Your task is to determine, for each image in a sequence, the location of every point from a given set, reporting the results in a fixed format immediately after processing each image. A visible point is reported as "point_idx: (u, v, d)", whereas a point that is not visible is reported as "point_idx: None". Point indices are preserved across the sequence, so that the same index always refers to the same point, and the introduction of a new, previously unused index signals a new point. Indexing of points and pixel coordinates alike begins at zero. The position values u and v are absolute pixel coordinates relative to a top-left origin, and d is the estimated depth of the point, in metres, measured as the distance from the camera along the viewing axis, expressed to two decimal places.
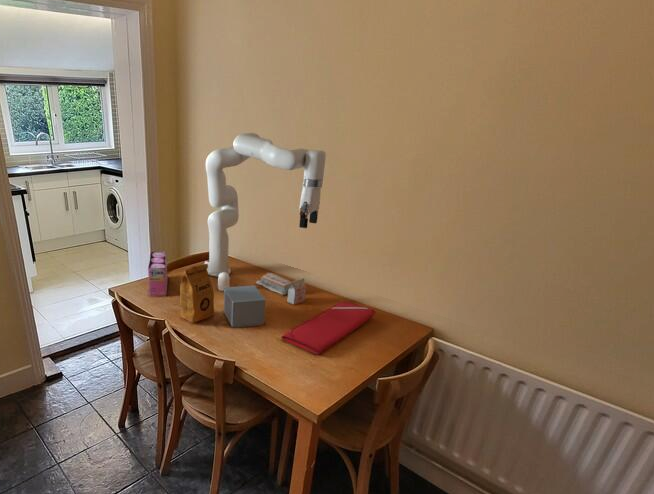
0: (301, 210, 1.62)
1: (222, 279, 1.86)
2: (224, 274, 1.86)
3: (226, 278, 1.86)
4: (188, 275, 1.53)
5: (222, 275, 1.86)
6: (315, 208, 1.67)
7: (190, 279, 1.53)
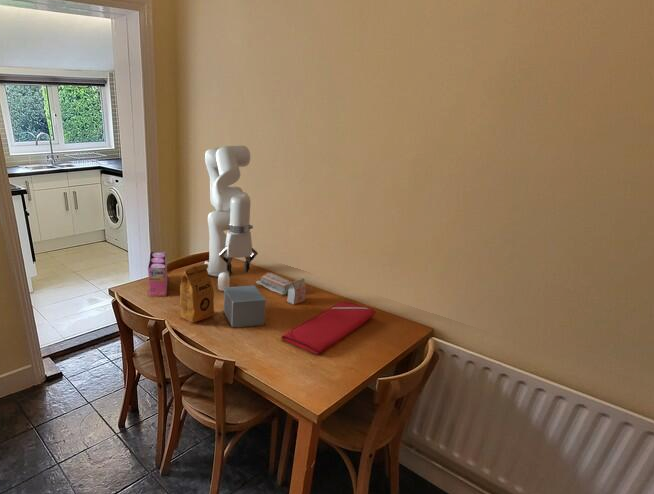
0: (219, 256, 1.63)
1: (222, 279, 1.86)
2: (224, 274, 1.86)
3: (226, 278, 1.86)
4: (188, 275, 1.53)
5: (222, 275, 1.86)
6: (241, 254, 1.61)
7: (190, 279, 1.53)
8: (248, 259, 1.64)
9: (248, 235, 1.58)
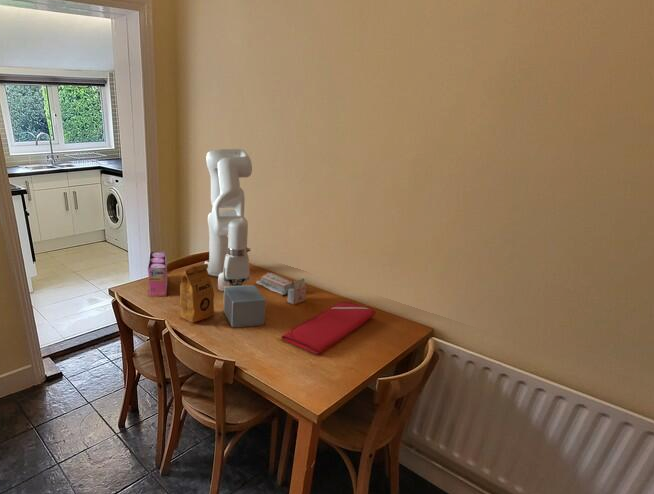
0: None
1: (222, 279, 1.86)
2: None
3: None
4: (188, 275, 1.53)
5: (222, 275, 1.86)
6: (239, 276, 1.67)
7: (190, 279, 1.53)
8: (239, 282, 1.69)
9: (246, 258, 1.64)
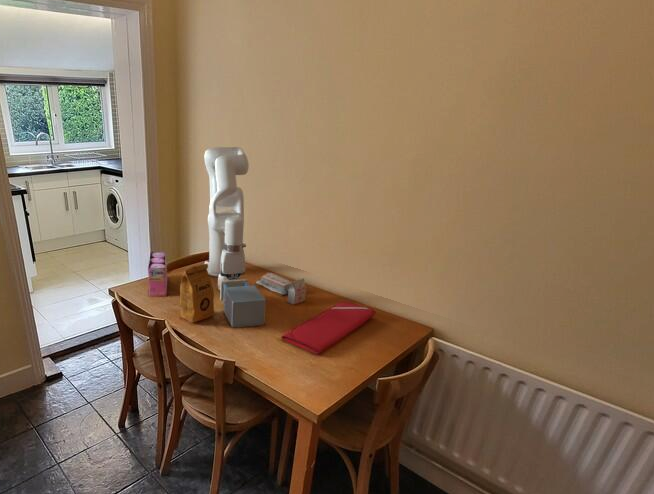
0: None
1: (222, 279, 1.86)
2: None
3: (226, 278, 1.86)
4: (188, 275, 1.53)
5: None
6: (235, 271, 1.73)
7: (190, 279, 1.53)
8: (235, 276, 1.75)
9: (241, 253, 1.70)
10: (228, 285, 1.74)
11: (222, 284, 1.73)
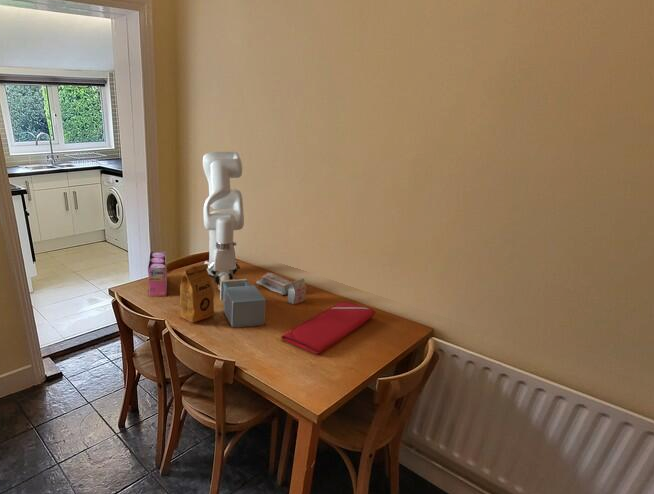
0: (208, 270, 1.86)
1: (222, 279, 1.86)
2: (224, 274, 1.86)
3: (226, 278, 1.86)
4: (188, 275, 1.53)
5: (222, 275, 1.86)
6: (226, 268, 1.84)
7: (190, 279, 1.53)
8: (231, 272, 1.86)
9: (232, 251, 1.81)
10: (228, 285, 1.74)
11: (222, 284, 1.73)
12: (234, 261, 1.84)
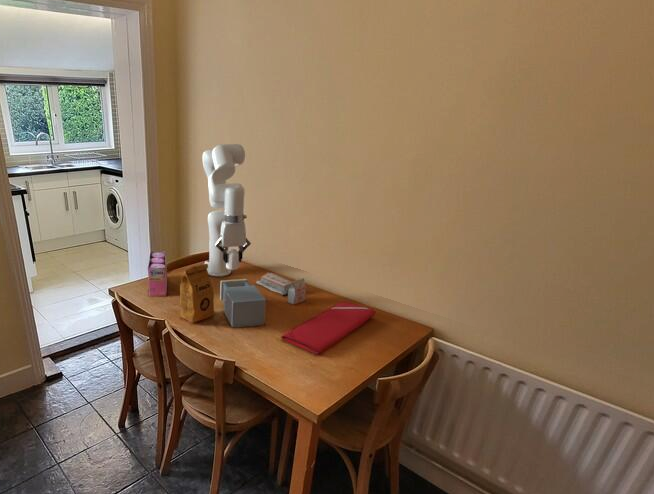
0: (216, 246, 1.68)
1: (231, 256, 1.69)
2: (233, 251, 1.69)
3: (235, 255, 1.69)
4: (188, 275, 1.53)
5: (231, 252, 1.69)
6: (235, 243, 1.67)
7: (190, 279, 1.53)
8: (241, 249, 1.69)
9: (242, 224, 1.64)
10: (228, 285, 1.74)
11: (222, 284, 1.73)
12: (244, 236, 1.66)
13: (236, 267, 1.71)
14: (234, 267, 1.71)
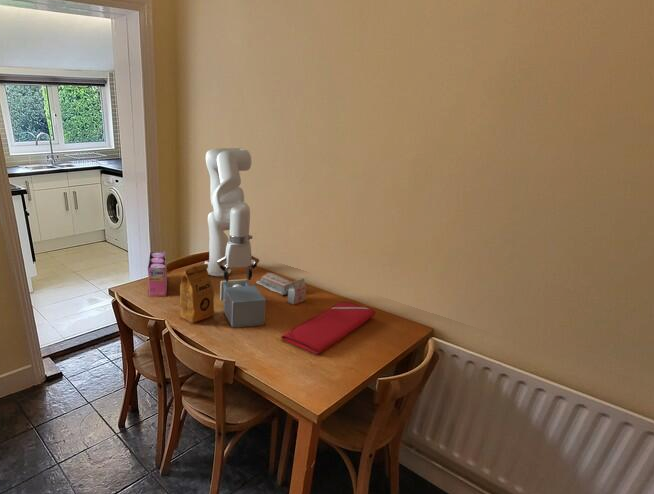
0: (217, 263, 1.63)
1: None
2: None
3: None
4: (188, 275, 1.53)
5: None
6: (240, 264, 1.63)
7: (190, 279, 1.53)
8: (251, 267, 1.65)
9: (248, 245, 1.60)
10: (228, 285, 1.74)
11: (222, 284, 1.73)
12: (250, 257, 1.62)
13: None
14: None
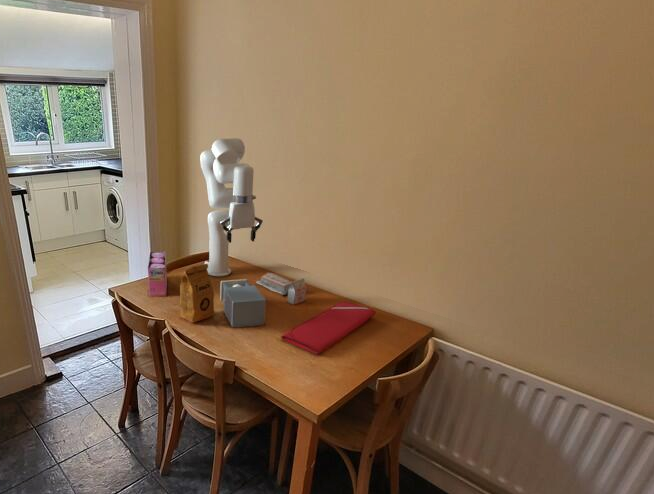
0: (221, 223, 1.64)
1: None
2: None
3: None
4: (188, 275, 1.53)
5: None
6: (244, 225, 1.64)
7: (190, 279, 1.53)
8: (254, 228, 1.66)
9: (251, 205, 1.61)
10: (228, 285, 1.74)
11: (222, 284, 1.73)
12: (253, 217, 1.63)
13: None
14: None
